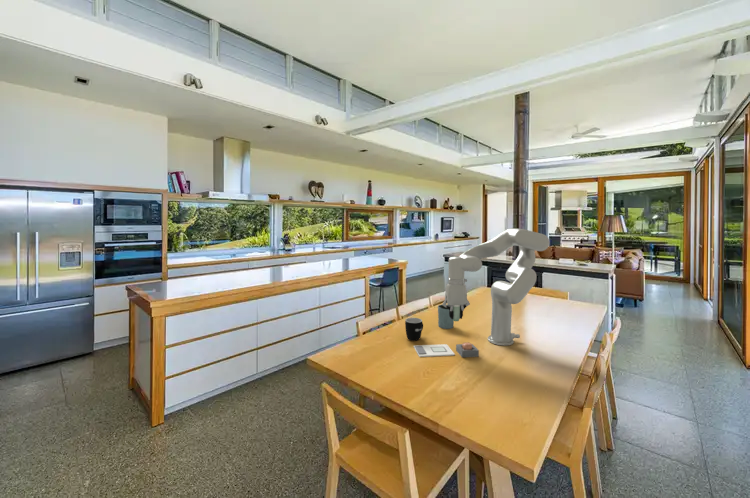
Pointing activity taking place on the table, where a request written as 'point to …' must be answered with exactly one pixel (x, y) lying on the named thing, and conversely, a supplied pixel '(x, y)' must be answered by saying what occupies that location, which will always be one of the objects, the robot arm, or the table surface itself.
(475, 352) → the button housing
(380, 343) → the table surface
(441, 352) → the picture board
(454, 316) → the marker
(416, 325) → the mug
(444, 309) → the blue-gray cup
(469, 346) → the button
